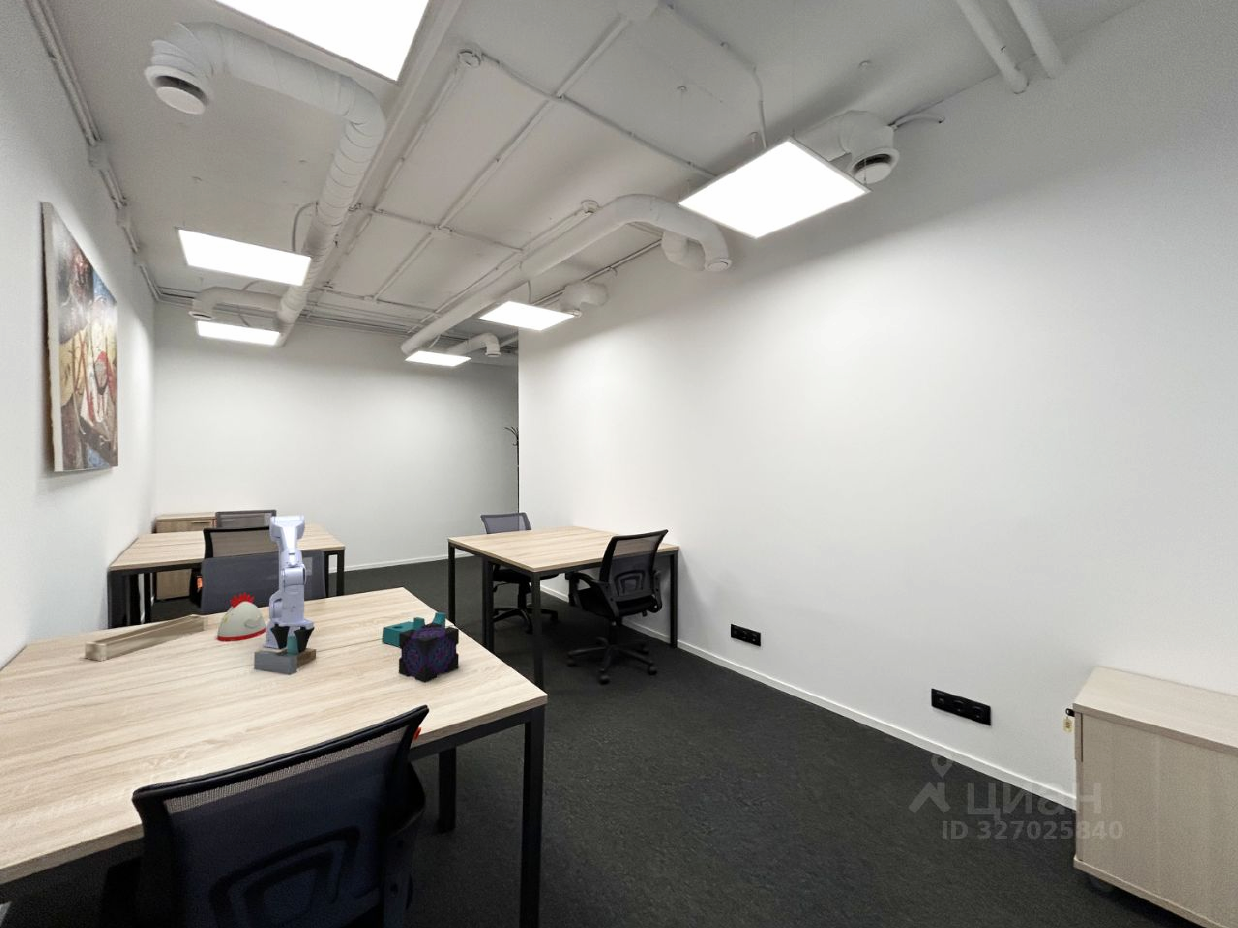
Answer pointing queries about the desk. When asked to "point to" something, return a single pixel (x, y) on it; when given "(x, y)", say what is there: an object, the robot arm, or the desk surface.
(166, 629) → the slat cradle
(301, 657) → the socket block
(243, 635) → the kitchen timer
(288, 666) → the wall
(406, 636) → the energy cube
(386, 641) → the teal l-shaped bracket
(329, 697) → the desk surface
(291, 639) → the dowel
